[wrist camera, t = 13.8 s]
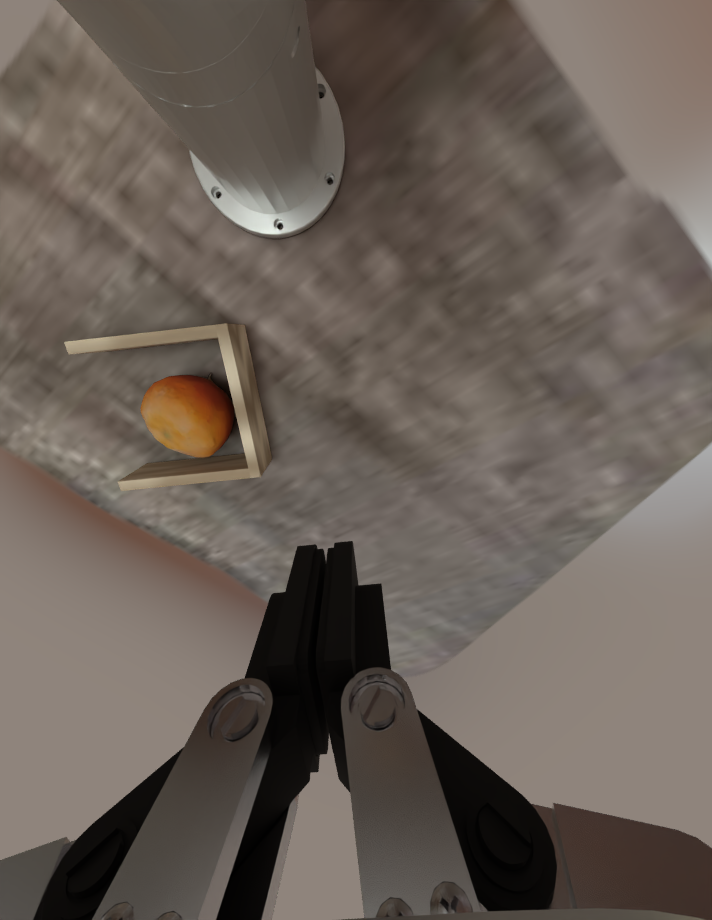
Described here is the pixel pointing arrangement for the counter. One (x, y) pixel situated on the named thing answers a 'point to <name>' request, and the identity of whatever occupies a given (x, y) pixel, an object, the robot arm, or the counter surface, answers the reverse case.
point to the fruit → (188, 414)
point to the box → (242, 396)
